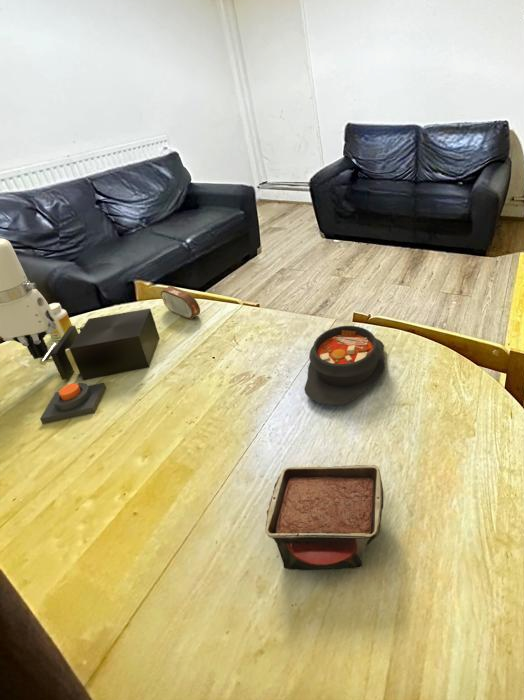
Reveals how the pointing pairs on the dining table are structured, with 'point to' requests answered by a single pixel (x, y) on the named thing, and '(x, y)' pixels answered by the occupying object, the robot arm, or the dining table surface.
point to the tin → (180, 302)
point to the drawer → (63, 354)
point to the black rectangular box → (115, 344)
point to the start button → (69, 392)
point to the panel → (74, 404)
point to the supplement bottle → (59, 321)
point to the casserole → (343, 365)
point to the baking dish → (325, 515)
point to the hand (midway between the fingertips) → (41, 354)
